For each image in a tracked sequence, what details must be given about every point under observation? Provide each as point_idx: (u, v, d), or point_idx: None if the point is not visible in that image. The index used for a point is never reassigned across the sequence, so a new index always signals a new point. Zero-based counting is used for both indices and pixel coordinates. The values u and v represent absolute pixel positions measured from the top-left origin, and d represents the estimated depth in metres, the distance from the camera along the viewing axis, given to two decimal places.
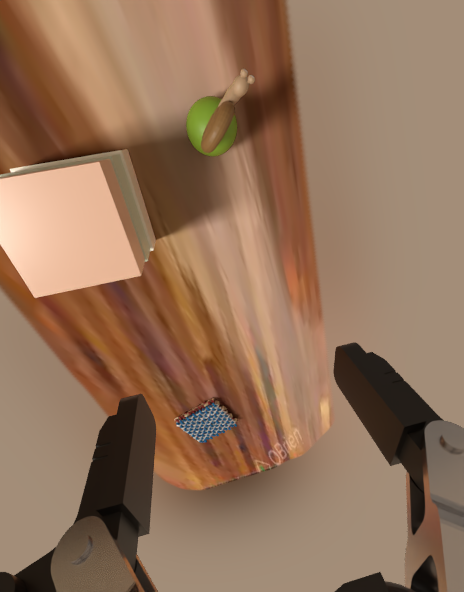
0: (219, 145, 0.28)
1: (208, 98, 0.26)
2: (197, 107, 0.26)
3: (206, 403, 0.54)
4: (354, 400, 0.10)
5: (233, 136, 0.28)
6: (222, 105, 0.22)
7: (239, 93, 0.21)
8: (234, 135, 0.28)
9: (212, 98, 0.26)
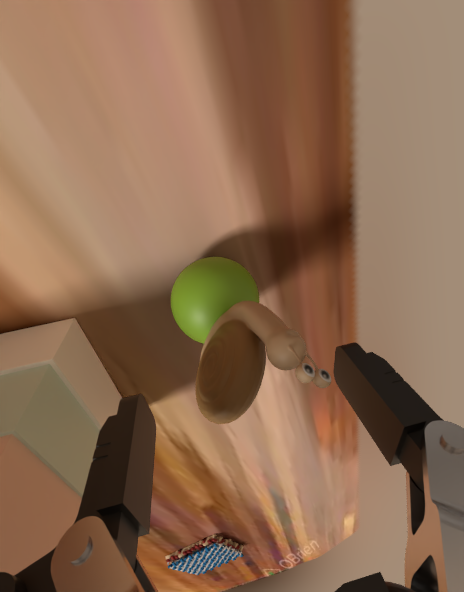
0: None
1: (209, 275, 0.14)
2: (189, 292, 0.14)
3: (206, 542, 0.43)
4: (354, 400, 0.10)
5: None
6: (241, 360, 0.10)
7: None
8: None
9: (217, 274, 0.14)
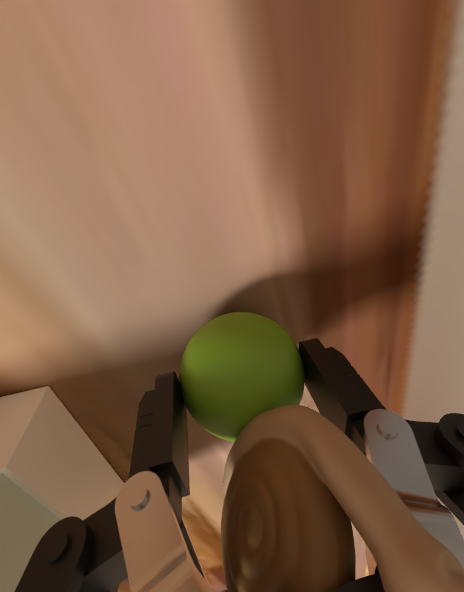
0: None
1: (238, 351, 0.09)
2: (208, 377, 0.09)
3: None
4: (314, 392, 0.11)
5: None
6: (316, 559, 0.06)
7: None
8: None
9: (249, 350, 0.09)
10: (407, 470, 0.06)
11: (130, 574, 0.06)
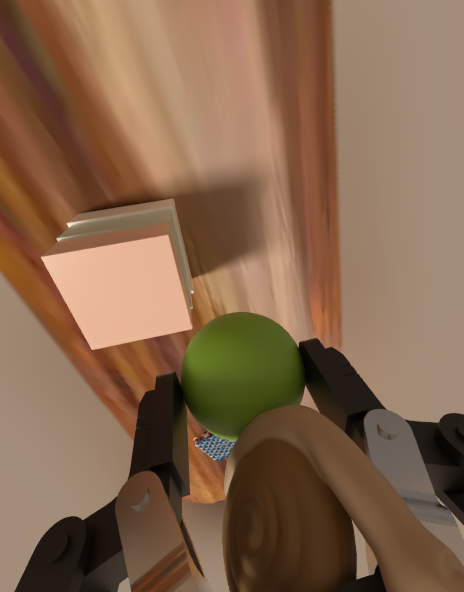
0: None
1: (240, 351, 0.09)
2: (209, 377, 0.09)
3: None
4: (314, 392, 0.11)
5: None
6: (317, 558, 0.06)
7: None
8: None
9: (251, 350, 0.10)
10: (406, 470, 0.06)
11: (130, 574, 0.06)
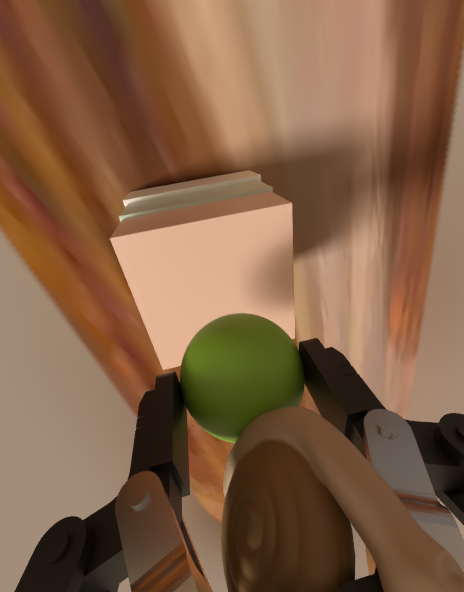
0: None
1: (239, 352, 0.09)
2: (208, 378, 0.09)
3: None
4: (314, 392, 0.11)
5: None
6: (315, 560, 0.06)
7: None
8: None
9: (250, 352, 0.10)
10: (406, 470, 0.06)
11: (130, 574, 0.06)
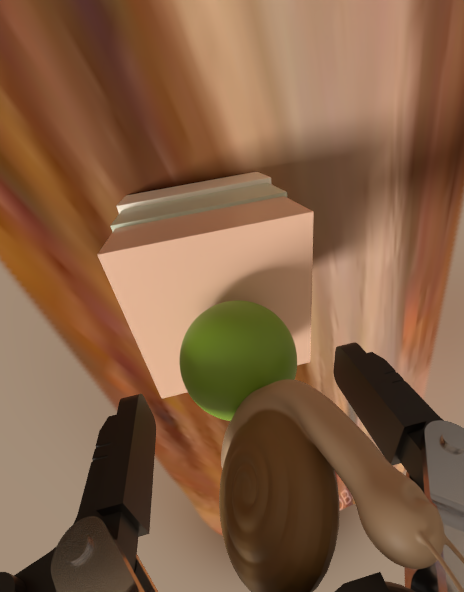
0: None
1: (234, 333, 0.10)
2: (206, 357, 0.10)
3: None
4: (354, 400, 0.10)
5: None
6: (303, 504, 0.06)
7: None
8: None
9: (245, 332, 0.10)
10: None
11: None
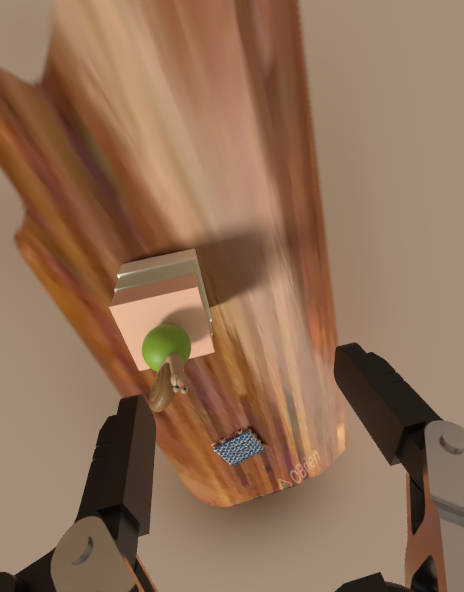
0: None
1: (159, 337, 0.28)
2: (149, 347, 0.28)
3: (240, 431, 0.63)
4: (354, 400, 0.10)
5: (186, 359, 0.29)
6: (164, 382, 0.24)
7: None
8: (188, 357, 0.29)
9: (163, 337, 0.28)
10: None
11: None
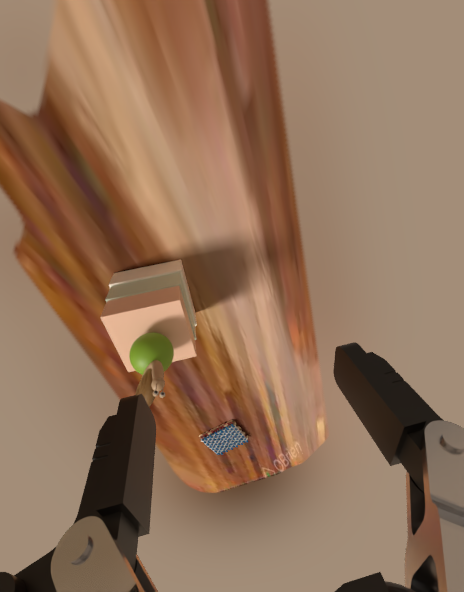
0: None
1: (144, 345, 0.31)
2: (135, 353, 0.31)
3: (226, 424, 0.68)
4: (354, 400, 0.10)
5: (169, 364, 0.33)
6: (147, 386, 0.28)
7: (157, 391, 0.26)
8: (170, 362, 0.33)
9: (148, 345, 0.31)
10: None
11: None
